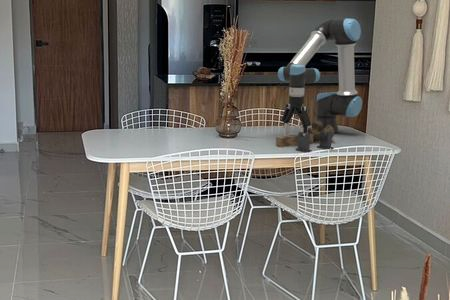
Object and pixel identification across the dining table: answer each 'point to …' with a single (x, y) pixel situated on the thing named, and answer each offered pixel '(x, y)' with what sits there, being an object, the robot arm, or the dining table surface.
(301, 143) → the standards
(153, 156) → the dining table surface
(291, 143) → the rail
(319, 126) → the decorative stone
